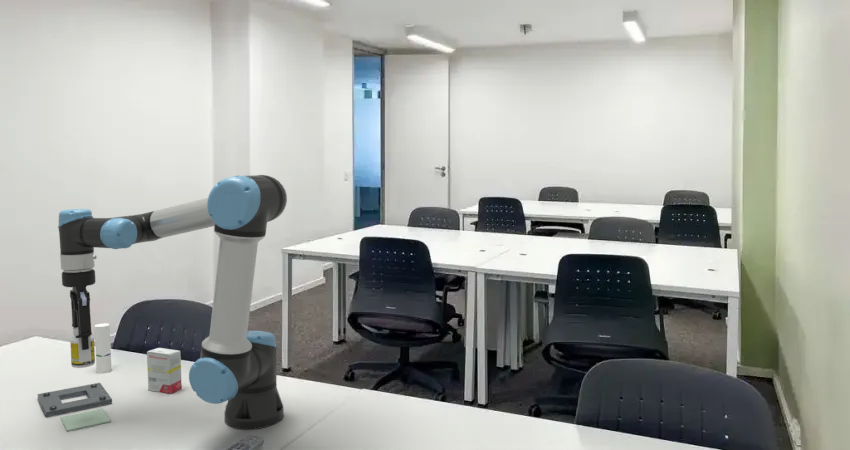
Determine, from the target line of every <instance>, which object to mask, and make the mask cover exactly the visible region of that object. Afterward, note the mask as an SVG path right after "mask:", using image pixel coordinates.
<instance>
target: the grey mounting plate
mask: <svg viewBox="0 0 850 450" xmlns="http://www.w3.org/2000/svg"><path fill="white" fill-rule="evenodd" d="M82 396H83V397H84V396H86V397H87V398H82V399H77V400H71V401H67V402H62V400H67V399H68V400H69V399H73V398H78V397H82ZM37 400H38V403H39V405H40V407H41V410H42V412H43V414H44V416H45V418H50V417H55V416H60V415H64V414H65V415H66V414H69V413H74V412H79V411H83V410H90V409H94V408H98V407H103V406H108V405H113V398H112V397H111V395H110V394H109V393H108V392H107V390H106V389H105V387H104V386H103V384H102V383H101V382H97V383H90V384H85V385H81V386H80V385H79V386H75V387H69V388H68V387H67V388H63V389H59V390H53V391H48V392H42V393H37Z"/></svg>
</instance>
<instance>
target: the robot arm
mask: <svg viewBox="0 0 850 450" xmlns="http://www.w3.org/2000/svg"><path fill="white" fill-rule="evenodd" d="M287 198H288V197H287V191H286V189H285V187H284V185H283V184H282V183H281V182H280V181H279V180H278V179H276V178H275V177H273V176H269V175H267V174H266V175H265V174H258V175H256V174H255V175H240V174H239V175H233V176H230V177H229V176H228V177H226V178H223V179H220V181H217V183H216V184H215V185H214V186H213V187H212V188H211V189H210V192H209V194H208V197H206V198H201V199H198V200H195V201H194V200H193V201H189V202H185V203H181V204H177V205H174V206H169V207H166V208H161V209H158V210H154V211H153V210H152V211H149V212H145V213H139V214H134V215H125V216H116V217H115V216H114V217H93V215H92V214H93V212H92V211H91V209H88V208H72V209H71V208H70V209H63V210H61V211H59V213H58V225H57V228H58V234H59V248H60V249H59V250H60V254H59V255H60V256H59V257H60V259H59V260H60V269H61V270H62V272H61V285H62V286H63V287H65V288H72V289H70V290H69V297H70V302H71V303H70V305H71V307H70V308H71V327H72V330H73V329H74V328H77V327H78V332H79V335H78V336H76V338H78V349H79V362H80V363H81V362H87V361H92V360H91V342H90V335H92V334H93V332H92V321H91V318H92V317H91V304H90V303H91V302H90V301H91V296H90V291H89V290H87V287H88V286H93V285H94V284H96V270H95V269H94V268H95V260H96V259H97V255H95V249H94V248H99V249H100V248H101V249H102V248H103V249H112V250H118V249H129V248H131V246H132V245H135V244H140V243H146V242H149V243H150V242H155V241H158V240H160V239H164V238H167V237H172V236H177V235H181V234H186V233H190V232H194V231H199V230H203V229H208V228H212V227H213V228H214V229H213V232H214V233H215V235H217V237H218V238H219V246H218V255H217V256H218V257H217V264H216V265H217V266H216V272H215V280H214V281H215V282H214V291H213V301H212V310H211V318H210V329H209V335H208V336H207V337H206V338H205V339H203V340H202V342H201V346H200V347H201V349H200V357H199V358H197V360H195V362H193V363H192V365H191V366H190V369H189V373H188V381H189V384H190V387H191V389H192V391H193V392H195V393H196V396H197V397H198V398H199V399H200V400H203V401H204V402H206V403H209V404H214V405H218V404H223V403H225V402H227V403H226V405H225V409H224V423H225V424H226V425H227V426H229V427H231V428H234V429H239V430H241V429H242V430H252V429H253V430H254V429H256V430H257V429H261V428H265V427H266V428H267V427H270V426H272V425H275V424H277V423H278V422H280V421H281V420H282V419H283V418H284V414H285V413H284V410H285V408H284V404H283V401H282V399H281V396H280V393H279V391H278V387H277V348H278V346H277V341H276V339H277V338H276V336H275V334H274V333H272V332H269V331H263V330H248V329H249V321H250V313H251V302H252V295H253V286H254V280H255V279H254V278H255V271H256V263H257V254H258V245H259V242H260V241H261V240H263V239H264V238H265V237H266V234H267V225H268V222H272V221H274V220H276V219H278V218H279V217H280V216H281V215H282V214H283V212H284V211H285V209H286V206H287V201H288V199H287ZM92 336H93V335H92Z"/></svg>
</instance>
